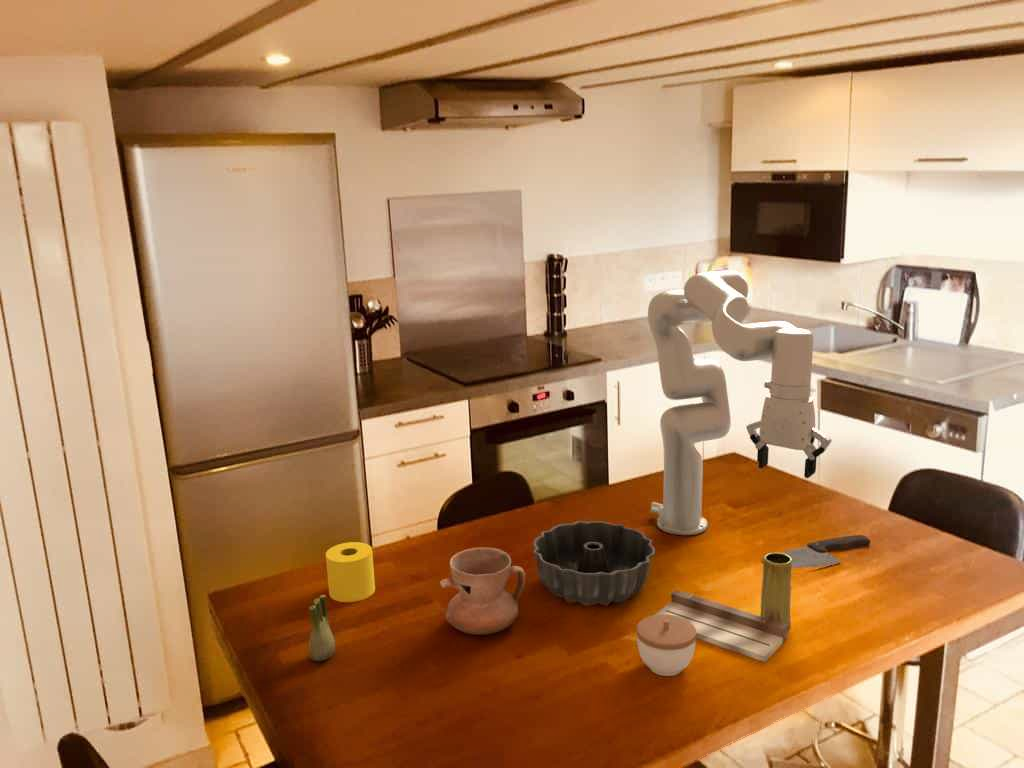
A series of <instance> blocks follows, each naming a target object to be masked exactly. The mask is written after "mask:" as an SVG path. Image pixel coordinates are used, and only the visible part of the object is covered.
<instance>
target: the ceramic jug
mask: <svg viewBox="0 0 1024 768" xmlns="http://www.w3.org/2000/svg"><path fill="white" fill-rule="evenodd" d="M511 565H512V559H511V556H510V555H509V553H507V552H506V551H504V550H502V549H499V548H495V547H494V548H493V547H481V546H480V547H473V548H468V549H464V550H462V551H458V552H457V553H455V554H454V555H453V556H452V557H451V558H450V560H449V568H450V573H451V578H450V577H449V578H443V579H441V580H440V581H439V584H440V586H441V588H443V589H446V588H450V587H451V588H453V589H456V590H458V591H459V593H457V594H455V595H454V596H453V597H452V598H451V599H450V600H449V602H448V604H447V607H446V612H445V618H446V619H445V620H446V621H447V622H448V624H450V625H451V626H452V627H454V628H455V629H457V630H458V631H460V632H462V633H464V634H465V633H466V634H470V635H475V636H483V635H484V636H485V635H491V634H495V633H498V632H501V631H503V630H505V629H507V628H508V627H510V626H511V625H512V624H513V623H514V622H515V621H516V619H517V617H518V615H519V605H518V601H519V598H520V597H521V594H522V592H523V590H524V587H525V584H526V583H525V582H526V572H525V570H524V569H523V568H522V567H521V566H519V565H512V566H511ZM514 574H517V583H516V587H515V589H514V591H513V594H510V593H508V592H507V591H505V590H504V588H505V586H506V583H507V581H508V579H509V578H510V577H511V576H513V575H514Z"/></svg>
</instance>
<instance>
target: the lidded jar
mask: <svg viewBox="0 0 1024 768" xmlns="http://www.w3.org/2000/svg"><path fill="white" fill-rule="evenodd" d="M696 639H697V638H696V629H695V627H694V625H693V624H692V623H691V622H689V621H688V620H686V619H684V618H681V617H678V616H674V615H665V614H661V615H655V614H654V615H649V616H647V617H644V618H643V619H641V620H640V621H639V622H638V623H637V625H636V640H637V649H638V653H639V656H640V657H641V660H642V662H643V663H644V664H645V665H646V666H647V667H648V668H649V670H650V671H651V672H653V673H654V674H656V675H659V676H664V677H671V676H676V675H678V674H680V673H681V672H682V671H683V670H684V669H685V668H687V667H688V665H689V664H690V663H691V661H692V659H693V657H694V654H695V647H696Z"/></svg>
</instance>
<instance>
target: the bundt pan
mask: <svg viewBox="0 0 1024 768" xmlns="http://www.w3.org/2000/svg"><path fill="white" fill-rule="evenodd" d="M652 544H653V540H652V539H650V538H647V537H646V535H645V534H644V533H643V532H642V531H640V530H638V529H635V528H630V527H627V526H626V525H624V524H621V523H620V524H616V523H614V524H613V523H611V522H607V521H601V520H600V521H599V520H598V521H597V520H596V521H580V520H578V521H575V522H573V523H562V524H558V525H556V526H553V527H552V528H550V530H545V531H542V532H541V535H540V536H537V538H535V539H534V540H533V548H534V550H533V555H534V556H535V561H536V566H537V571H538V572H537V573H538V577H539V579H540V581H541V583H542V584H543V585H544V587H546V588H547V589H548V590H549V591H550V593H552V594H553V595H555V596H557V597H560V598H564V599H565V601H566V602H567V603H570V604H571V603H575V602H578V603H579V604H581V605H584V606H591V605H593V606H594V605H595V604H597V603H598V604H601V605H602V606H603V607H607V606H608V605H609V604H610V603H611V602H612V603H621V602H623V601H626V600H627V599H628V598H630V597H634V596H636V595H637V594H639V593H640V592H641V591H642V590H643V586H644V584H645V583H646V581H647V579H648V578H649V577H648V576H649V573H650V568H651V562H652V558H653V557H654V556H655V553H656V549H655V547H654V546H653V545H652Z"/></svg>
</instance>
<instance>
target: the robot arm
mask: <svg viewBox="0 0 1024 768" xmlns="http://www.w3.org/2000/svg"><path fill="white" fill-rule="evenodd" d="M748 294H749V285H748V282H747V280H746V278H745V277H744V276H743V275H742V274H741V273H740V272H738V271H736V270H717V271H715V270H714V271H703V272H699V273H698V272H697V273H695V274H694V275H692V276H690V277H689V278H688V279H687V280H686V282H685V283H684V287H683V289H682V288H681V289H672V290H671V289H670V290H667V291H663V292H659V293H657V294H655V295H654V296H653V297H652V298H651V299H650V302H649V304H648V308H647V321H648V326H649V329H650V332H651V334H652V337H653V339H654V340H653V341H654V343H655V347H656V353H657V361H658V367H659V368H658V369H659V376H660V384H661V389H662V392H663V395H664V397H666V398H667V399H669V400H672V401H681V400H690V399H691V400H692V399H697V398H701V400H702V402H698V403H688V404H681V405H675V406H673V407H669V408H668V409H666V410H665V411H664V412H663V413H662V414H661V417H660V421H659V424H660V425H659V426H660V431H661V438H662V444H663V445H662V446H663V503H660V502H655V501H652V503H651V504H650V505H651V506H650V513H652V514H658V518H657V519H656V525H657V527H658V529H660V530H661V531H662V532H665V533H668V534H671V535H678V536H693V535H698V534H701V533H703V532H705V531H706V530H707V528H708V521H707V519H706V518H704V516H702V512H703V511H702V509H703V508H702V505H703V503H702V502H703V472H704V471H703V466H704V465H703V464H704V463H703V462H704V461H703V459H702V455H701V453H700V452H699V451H698V450H697V448H696V446H695V444H697V443H701V442H707V441H712V440H719V439H722V438H724V437H726V436H727V435H728V434H729V431H730V429H731V421H732V420H731V410H730V403H729V394H728V389H727V387H728V386H727V381H726V375H725V372H724V370H723V368H722V365H720V363H719V361H717V360H715V359H712V358H707V357H706V358H705V357H704V358H696V359H695V358H694V353H693V346H692V341H691V339H690V338H689V336H688V335H687V333H686V332H685V331H684V330H683V329H682V328H681V327H680V326H681V325H691V324H694V325H695V324H701V323H711V322H712V323H711V330H712V332H711V333H712V336H713V338H714V340H715V344H716V345H717V346H718V347H719V348H720V349H721V350H722V351H724V352H725V353H726V354H727V355H729V356H730V357H731V358H733V359H734V360H736V361H739V362H740V361H741V362H750V361H760V360H761V361H762V360H768V359H771V375H770V378H771V379H770V380H769V381H767V380H765V382H764V385H763V387H764V388H765V389H766V388H767V389H768V390H769V394H766V395H765V399H764V402H763V408H762V411H761V412H762V413H761V418H760V420H758V421H755V422H752V423H749V424H747V426H746V427H745V428H746V432H747V433H748V435H749V438H750V440H751V442H752V443H753V444H754V445H755V448H756V450H757V453H756V454H757V456H756V457H757V459H756V462H757V463H758V468H759V469H763V468H764V467H766V466H768V464H769V451H770V450H769V449H770V447H769V446H767V445H771V446H775V447H780V448H785V449H790V450H796V451H803V452H804V453H805V455H806V457H807V458H806V459H804V474H803V476H804V478H805V479H809V478H810V477H812V476H814V475H815V473H816V470H817V458H818V457H819V456H820V455H822V454H824V453H825V452H826V451H827V449H828V448H829V447H830V445H831V443H832V438H830V437H829V436H827V435H826V434H824V433H823V432H822V431H821V430H819V429H817V428H816V411H815V405H814V403H815V402H814V400H813V397H811V383H812V371H813V370H812V368H813V367H812V366H813V355H814V354H813V353H814V352H813V349H814V335H813V333H812V332H811V331H810V330H808V329H806V328H799V327H798V328H797V327H796V326H795V325H793V324H791V323H790V322H787V321H783V320H776V321H775V320H774V321H761V322H754V323H746V324H745V323H744V324H742V323H743V321H744V320H745V319H746V317H747V314H748V312H749V304H748V301H747V298H748ZM757 429H759V433H757ZM816 440H817V441H818V442H820V445H819V447H818V448H817V447H816V446H815V445H814V444H815V441H816Z"/></svg>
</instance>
